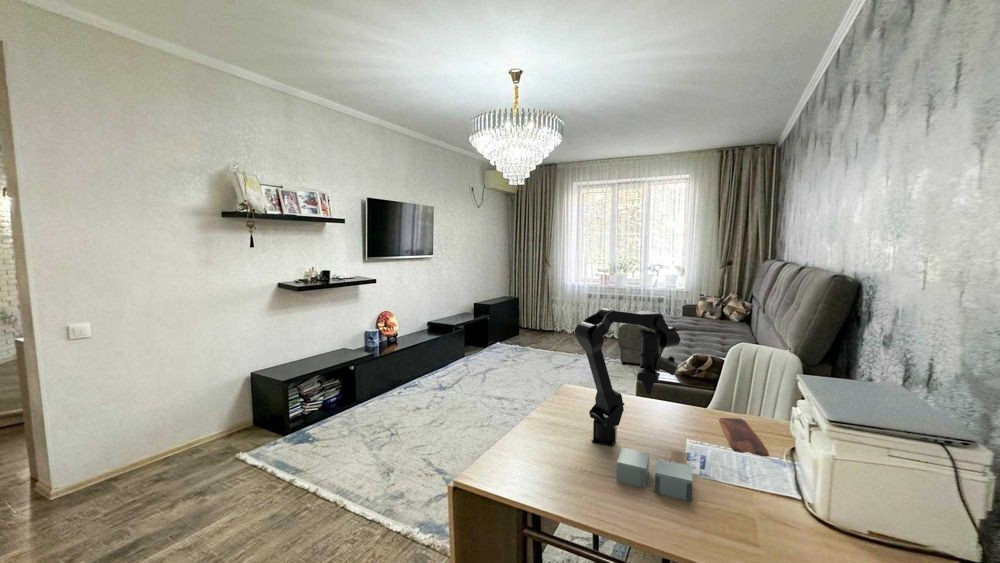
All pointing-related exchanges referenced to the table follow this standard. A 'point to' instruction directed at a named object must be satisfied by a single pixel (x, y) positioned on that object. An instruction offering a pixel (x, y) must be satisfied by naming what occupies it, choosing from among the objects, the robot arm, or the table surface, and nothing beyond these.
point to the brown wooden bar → (679, 457)
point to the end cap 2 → (673, 480)
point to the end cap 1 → (633, 467)
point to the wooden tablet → (742, 436)
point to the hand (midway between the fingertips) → (649, 395)
